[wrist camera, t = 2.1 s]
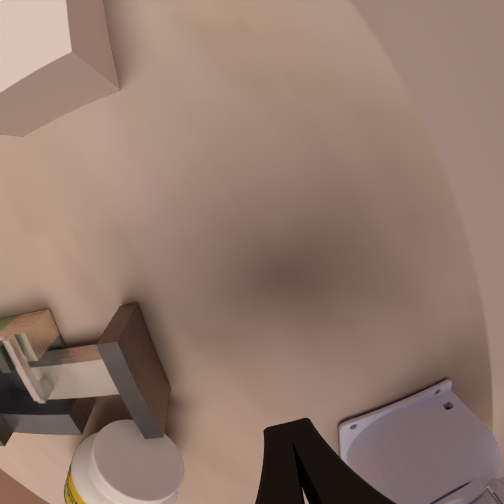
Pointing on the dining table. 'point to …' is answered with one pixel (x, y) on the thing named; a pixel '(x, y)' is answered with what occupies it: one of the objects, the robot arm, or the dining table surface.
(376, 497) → the robot arm
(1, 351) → the small grey rectangular block
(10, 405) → the gauge housing
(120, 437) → the pill bottle
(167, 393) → the bar with square endplate
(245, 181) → the dining table surface
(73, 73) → the white cube
